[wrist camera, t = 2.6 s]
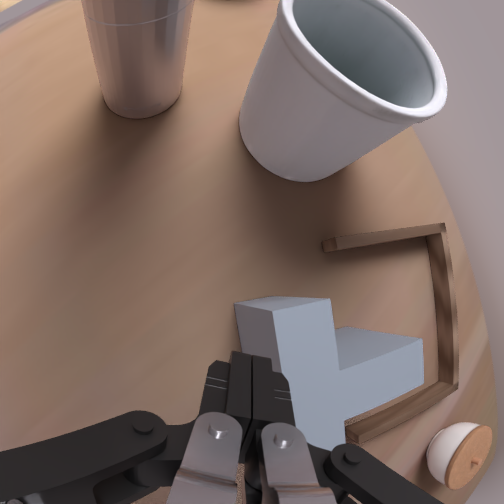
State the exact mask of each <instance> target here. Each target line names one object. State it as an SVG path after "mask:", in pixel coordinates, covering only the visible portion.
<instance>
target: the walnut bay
mask: <svg viewBox="0 0 504 504" xmlns="http://www.w3.org/2000/svg"><path fill="white" fill-rule="evenodd" d="M424 236H426V240H427V246H428V252H429V258H430V264H431V271H432V279H433V287H434V295H435V305H436V317H437V331H438V352H439V381H438V382H436V383H435V384H433V385H431V386H429V387H428V388H426V389H424V390H422V391H420V392H419V393H417V394H415V395H413V396H411V397H409V398H407V399H405V400H403V401H402V402H400V403H398V404H396V405H394V406H391V407H389V408H387V409H385V410H383V411H381V412H379V413H377V414H375V415H372V416H370V417H368V418H366V419H363V420H361V421H359V422H356V423H354V424H351V425H349V426H347V427H345V429H346V435H347V436H348V437H350V438H351V439H352V440H354V441H355V442H357V443H358V444H360V443H362V442H365V441H367V440H369V439H371V438H373V437H375V436H377V435H379V434H381V433H383V432H385V431H387V430H389V429H391V428H393V427H395V426H397V425H399V424H401V423H403V422H405V421H406V420H408V419H410V418H412V417H414V416H415V415H417V414H419V413H421V412H422V411H424V410H426V409H427V408H429V407H431V406H432V405H434V404H436V403H437V402H439V401H440V400H442V399H444V398H445V397H447V396H448V395H450V394H451V393H453V392H454V391H456V390H457V389H458V379H459V344H458V321H457V307H456V295H455V286H454V277H453V270H452V262H451V256H450V249H449V243H448V238H447V232H446V227H445V223H438V224H431V225H423V226H416V227H408V228H401V229H393V230H386V231H378V232H371V233H364V234H356V235H349V236H341V237H335V238H332V239H329V240H326V241H322V245H323V251H324V253H325V252H331V251H338V250H344V249H350V248H356V247H363V246H369V245H375V244H381V243H387V242H393V241H399V240H405V239H412V238H418V237H424Z"/></svg>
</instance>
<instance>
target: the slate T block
mask: <svg viewBox="0 0 504 504" xmlns="http://www.w3.org/2000/svg"><path fill="white" fill-rule="evenodd" d="M234 307H235V313H236V319H237V325H238V331H239V337H240V343H241V349H242V353H246V354H251V356H252V355H257V356H262V357H267V358H271V360H272V370H273V371H274V372H280V373H282V374H283V375H284V376H285V378H286V379H287V380H288V382H289V387H290V393H291V400H292V406H293V412H294V418H295V424H296V428H297V429H299V430H300V431H301V432H302V433H303V434H304V436H305V438H306V442H308V443H309V444H311V445H313V446H316V447H319V448H322V449H326V450H329V451H332V450H333V448H334V447H336V446H337V445H340V444H346V443H345V428H344V420H347V419H349V418H352V417H354V416H357V415H359V414H361V413H364V412H366V411H368V410H371V409H373V408H375V407H377V406H379V405H382V404H384V403H386V402H388V401H390V400H392V399H394V398H396V397H398V396H400V395H402V394H404V393H406V392H408V391H410V390H412V389H414V388H416V387H418V386H420V385H422V384H424V365H423V343H422V338H415V337H408V336H402V335H395V334H389V333H382V332H376V331H370V330H364V329H359V328H353V327H343V328H340V329H336V330H335V329H334V322H333V315H332V307H331V301H330V299H326V298H302V297H282V296H270V297H264V298H259V299H253V300H248V301H242V302H236V303H234Z"/></svg>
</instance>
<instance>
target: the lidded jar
mask: <svg viewBox="0 0 504 504" xmlns="http://www.w3.org/2000/svg"><path fill="white" fill-rule="evenodd" d="M491 442H492V431H491V429H490V427H488V426H485V425H479V424H475V423H469V422H461V423H456V424H453V425H451V426H449V427H447V428H444V429H442V430H441V431H439V432H438V433H437V434H436V435H435V436H434V438H433V439H432V440H431V442H430V444H429V446H428V449H427V453H426V458H427V465H428V469H429V471H430V473H431V474H432V476H433V477H434V478H435V479H436V480H438V481H439V482H440V483H442V484H444V485H446V487H448V488H450V489H452V490H455V489H459V488H461V487H462V486H464V485H465V484H467V483H468V482H469V481H470V480H471V479H472V478H473V477H474V475H475V474H476V473H477V472H478V470H479V469H480V467H481V466H482V464H483V462H484V461H485V459H486V457H487V454H488V452H489V449H490V446H491Z"/></svg>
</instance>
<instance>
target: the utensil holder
mask: <svg viewBox="0 0 504 504" xmlns="http://www.w3.org/2000/svg"><path fill="white" fill-rule="evenodd" d="M446 97H447V82H446V77H445V73H444V70H443V67H442V65H441V62H440V60H439V58H438V56H437V54H436V53H435V51H434V49H433V47H432V46H431V45H430V43H429V42H428V40H427V39H426V38H425V36H424V35H423V34H422V33H421V32H420V30H419V29H418V28H417V27H416V26H415V25H414V24H413V23H412V22H411V21H410V20H409V19H408V18H407V17H406V16H405V15H404V14H403V13H401V12H400V11H399V10H398V9H396V8H395V7H394V6H392V5H391V4H390V3H388V2H387V1H385V0H280V1H279V4H278V8H277V17H276V19H275V21H274V23H273V25H272V28H271V30H270V32H269V35H268V37H267V40H266V42H265V45H264V47H263V50H262V52H261V54H260V57H259V59H258V62H257V64H256V67H255V69H254V72H253V74H252V77H251V79H250V82H249V85H248V88H247V91H246V94H245V97H244V100H243V103H242V106H241V110H240V115H239V127H240V132H241V136H242V139H243V141H244V144H245V146H246V147H247V149H248V150H249V152H250V153H251V155H252V156H253V157H254V158H255V159H256V160H257V161H258V162H259V163H260V164H261V165H262V166H263V167H264V168H266V169H267V170H269V171H270V172H272V173H274V174H276V175H278V176H280V177H282V178H285V179H288V180H292V181H298V182H312V181H317V180H321V179H324V178H326V177H328V176H330V175H332V174H334V173H335V172H337V171H339V170H341V169H342V168H344V167H346V166H348V165H349V164H351V163H353V162H354V161H356V160H357V159H359V158H360V157H362V156H364V155H365V154H367V153H369V152H370V151H372V150H373V149H375V148H376V147H378V146H380V145H381V144H383V143H384V142H386V141H387V140H389V139H391V138H392V137H394V136H395V135H397V134H398V133H400V132H402V131H403V130H405V129H406V128H408V127H410V126H411V125H413V124H415V123H420V122H423V121H425V120H428V119H430V118H431V117H433V116H435V115H436V114H437V113H438V112H439V111H440V110H441V109H442V108H443V106H444V104H445V102H446Z"/></svg>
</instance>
